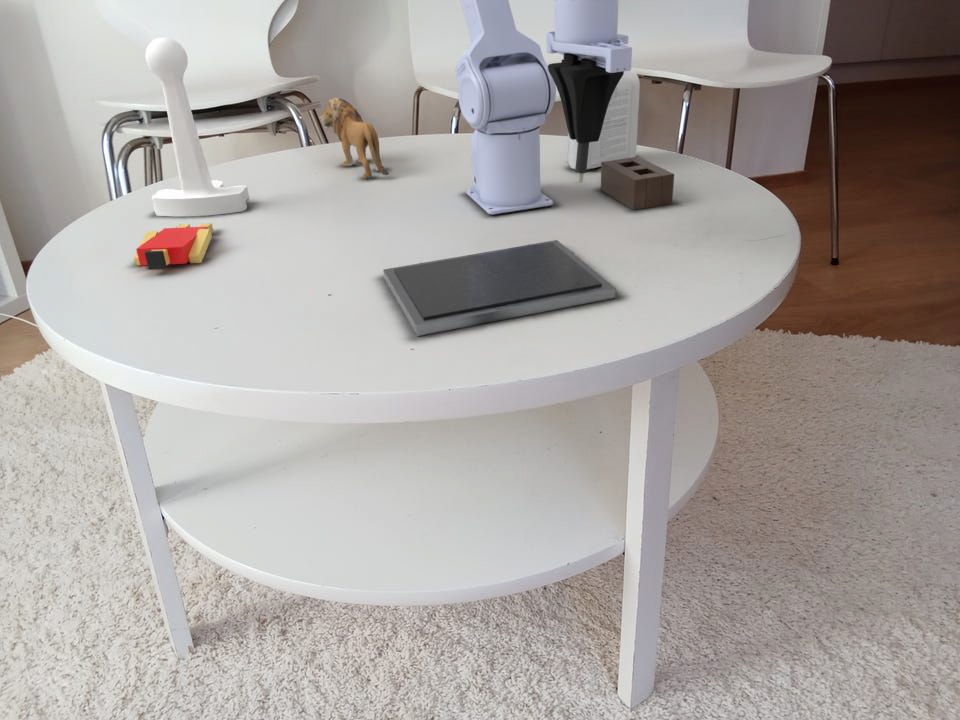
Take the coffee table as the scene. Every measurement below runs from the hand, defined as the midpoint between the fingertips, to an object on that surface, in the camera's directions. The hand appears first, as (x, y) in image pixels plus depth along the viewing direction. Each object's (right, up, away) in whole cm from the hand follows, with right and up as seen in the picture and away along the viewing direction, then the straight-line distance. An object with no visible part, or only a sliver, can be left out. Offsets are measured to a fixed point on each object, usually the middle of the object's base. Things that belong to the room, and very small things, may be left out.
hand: (584, 139), depth 76 cm
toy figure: (-43, -10, +8) cm, 45 cm away
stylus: (0, -4, +2) cm, 4 cm away
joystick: (-45, -2, +22) cm, 50 cm away
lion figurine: (-27, +5, +34) cm, 44 cm away
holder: (+8, -2, +17) cm, 19 cm away
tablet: (-9, -15, -4) cm, 18 cm away
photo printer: (+7, +5, +30) cm, 31 cm away
